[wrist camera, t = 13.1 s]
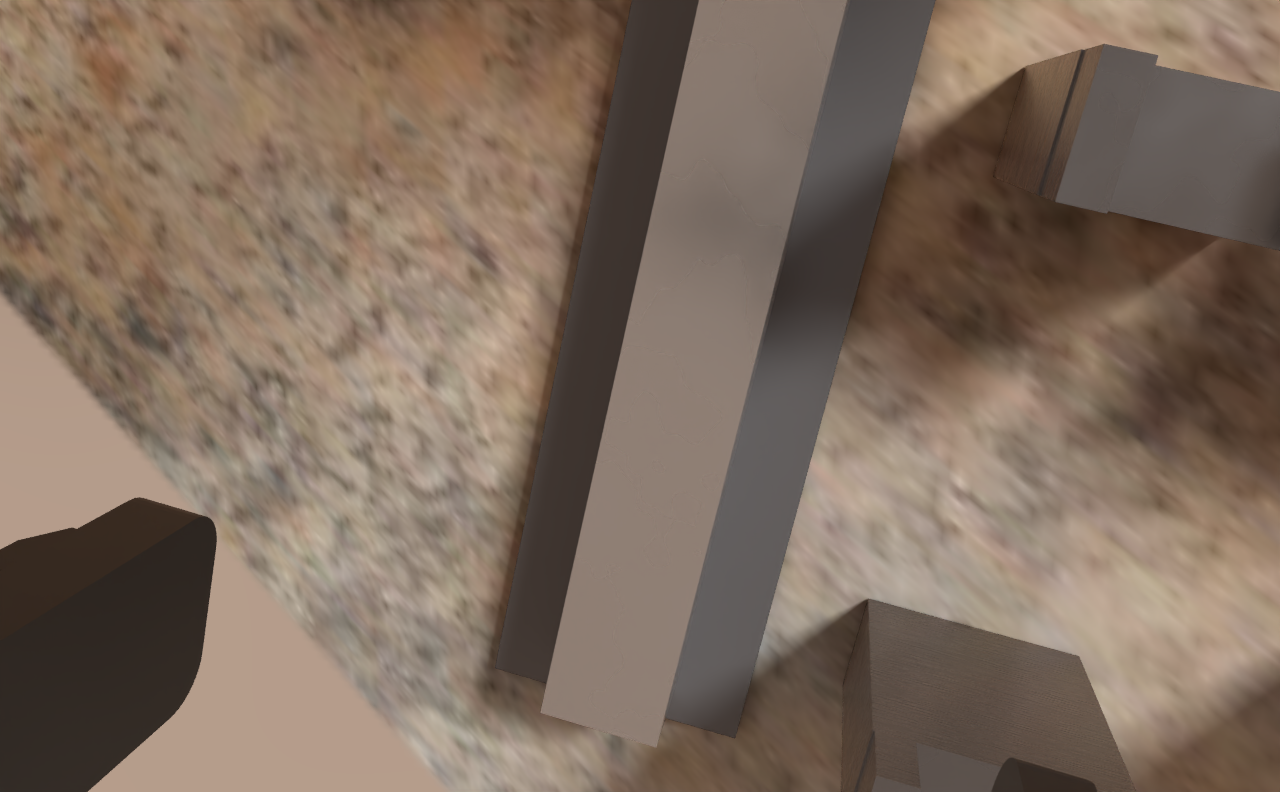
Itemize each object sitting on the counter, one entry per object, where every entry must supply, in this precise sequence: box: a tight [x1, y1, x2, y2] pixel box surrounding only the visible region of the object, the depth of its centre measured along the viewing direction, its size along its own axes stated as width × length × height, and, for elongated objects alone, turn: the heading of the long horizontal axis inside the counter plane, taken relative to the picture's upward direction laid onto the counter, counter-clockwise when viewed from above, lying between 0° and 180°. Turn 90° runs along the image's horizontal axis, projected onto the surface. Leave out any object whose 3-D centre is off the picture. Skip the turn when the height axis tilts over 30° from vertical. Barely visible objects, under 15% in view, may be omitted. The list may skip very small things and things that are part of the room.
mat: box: [495, 0, 935, 738], centre depth 34 cm, size 24×8×1 cm, turn 168°
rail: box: [540, 0, 851, 747], centre depth 32 cm, size 22×4×4 cm, turn 167°
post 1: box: [841, 599, 1136, 792], centre depth 31 cm, size 3×6×10 cm, turn 78°
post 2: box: [993, 44, 1280, 251], centre depth 27 cm, size 3×6×10 cm, turn 78°
